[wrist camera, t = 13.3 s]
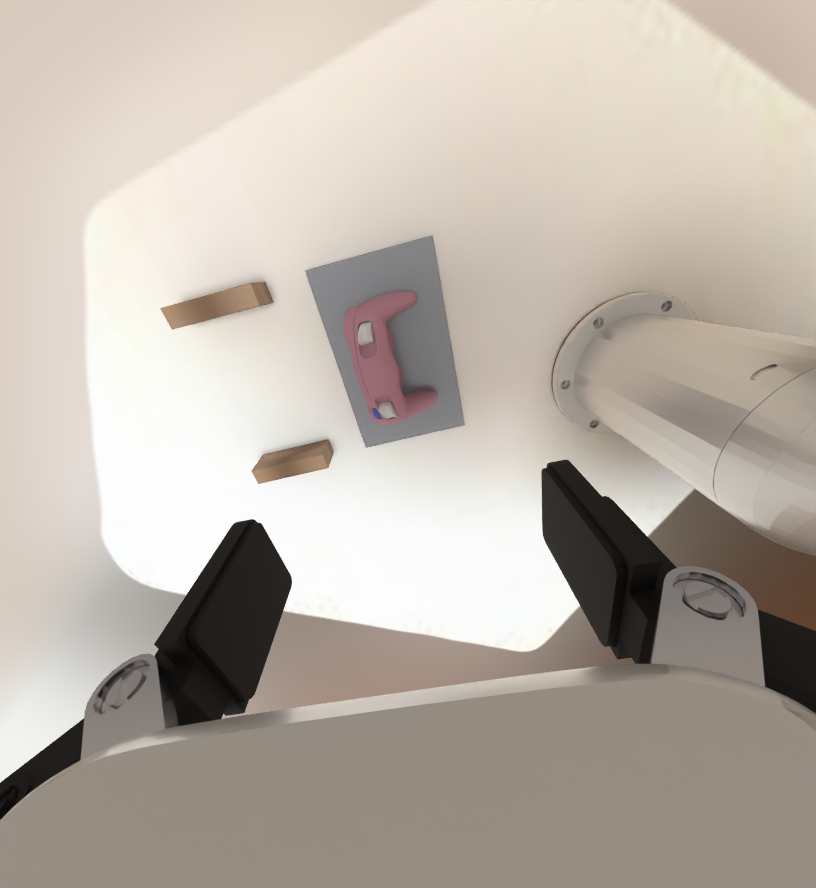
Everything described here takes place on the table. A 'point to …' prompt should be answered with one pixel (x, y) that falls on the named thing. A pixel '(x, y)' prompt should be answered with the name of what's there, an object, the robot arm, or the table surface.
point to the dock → (232, 302)
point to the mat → (394, 333)
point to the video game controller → (382, 359)
